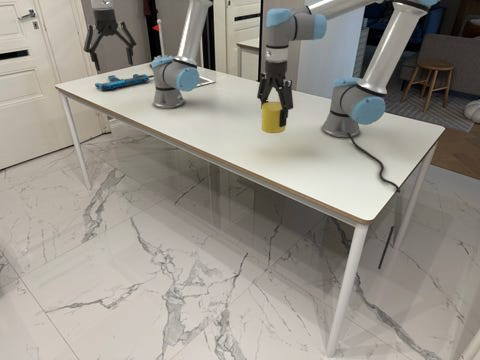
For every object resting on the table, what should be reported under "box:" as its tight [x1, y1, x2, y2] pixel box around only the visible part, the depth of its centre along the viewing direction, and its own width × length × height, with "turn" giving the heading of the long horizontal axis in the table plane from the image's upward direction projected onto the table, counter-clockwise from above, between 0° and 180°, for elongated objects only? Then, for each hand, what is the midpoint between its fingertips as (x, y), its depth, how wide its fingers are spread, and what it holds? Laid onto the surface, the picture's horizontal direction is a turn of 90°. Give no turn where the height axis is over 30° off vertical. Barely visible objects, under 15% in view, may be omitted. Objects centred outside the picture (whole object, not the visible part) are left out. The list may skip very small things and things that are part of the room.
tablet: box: [195, 75, 216, 88], centre depth 213 cm, size 32×20×1 cm, turn 41°
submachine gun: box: [94, 73, 154, 91], centre depth 208 cm, size 34×4×25 cm
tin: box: [260, 101, 286, 135], centre depth 126 cm, size 9×9×9 cm
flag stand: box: [152, 18, 173, 60], centre depth 234 cm, size 13×13×30 cm
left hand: (115, 67), depth 137 cm, fingers open, 13 cm apart
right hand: (273, 121), depth 127 cm, fingers closed on tin, 9 cm apart
